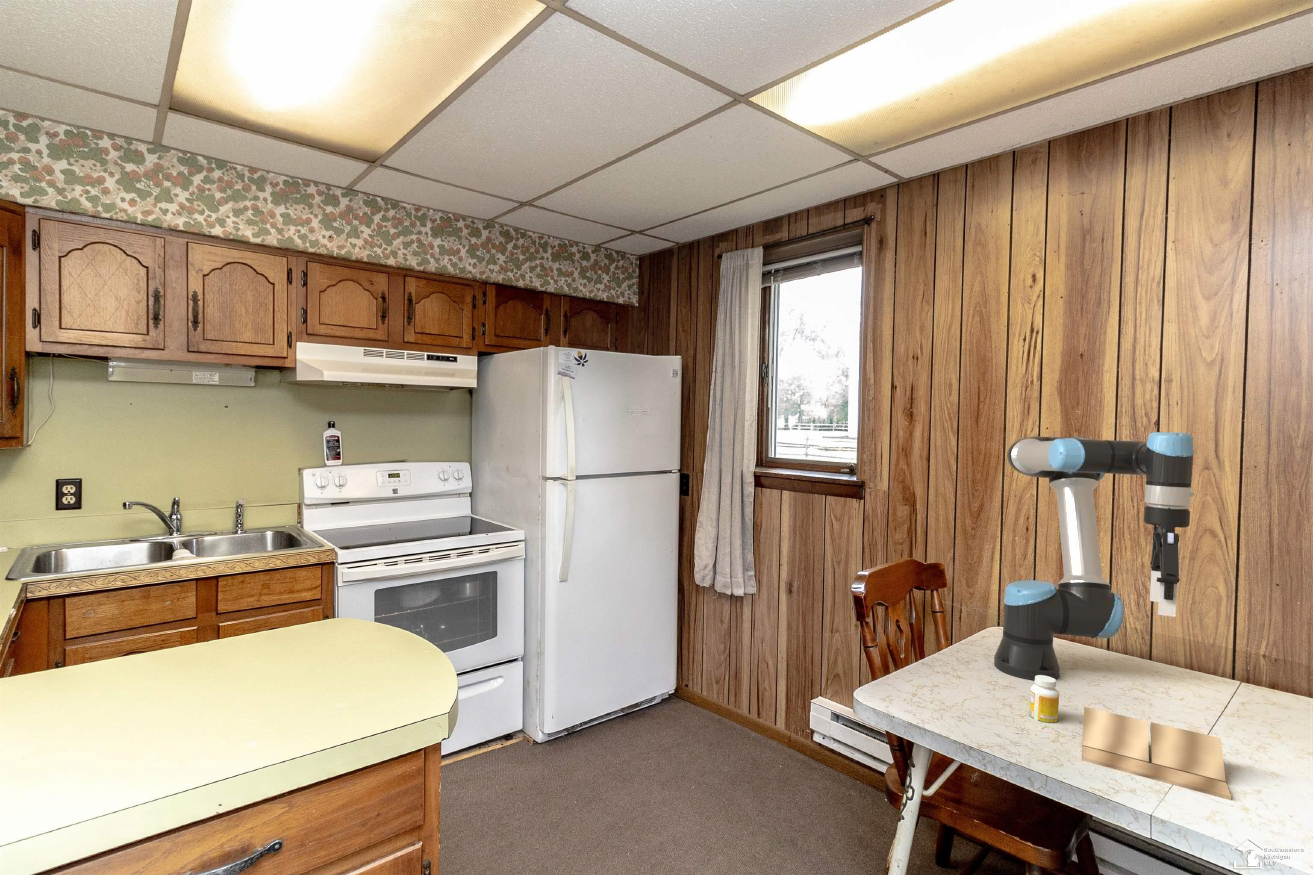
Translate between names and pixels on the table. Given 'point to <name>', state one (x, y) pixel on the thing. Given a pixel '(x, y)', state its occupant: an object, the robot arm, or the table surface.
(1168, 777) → the laid floorboard
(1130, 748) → the plank
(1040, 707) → the supplement bottle
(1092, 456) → the robot arm
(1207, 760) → the plank
